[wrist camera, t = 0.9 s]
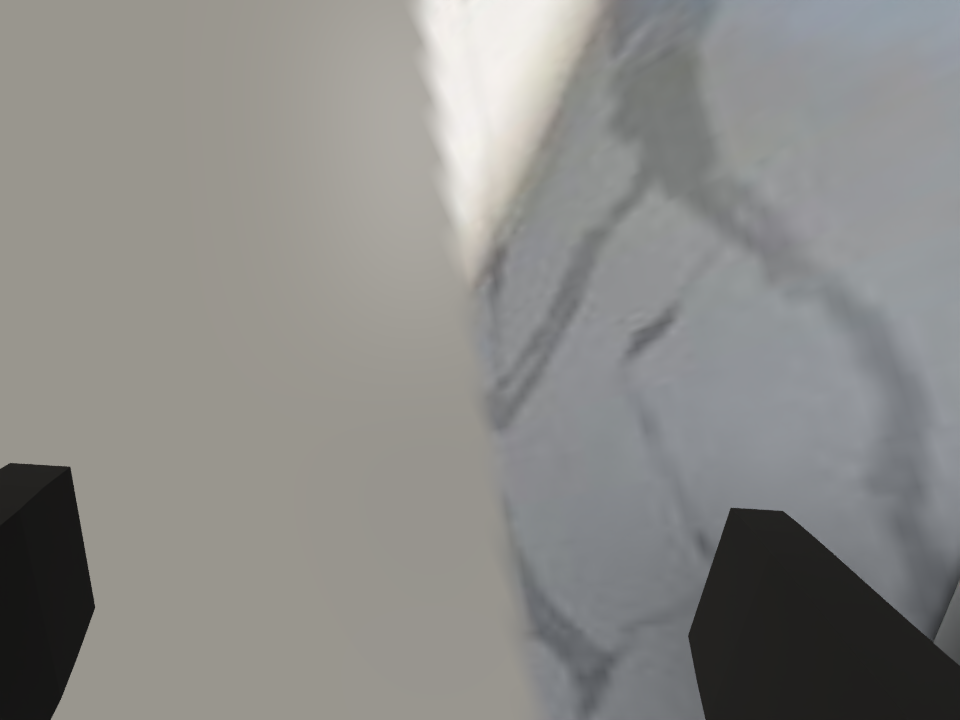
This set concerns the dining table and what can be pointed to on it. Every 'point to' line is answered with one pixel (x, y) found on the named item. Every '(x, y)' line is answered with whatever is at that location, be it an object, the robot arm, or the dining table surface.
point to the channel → (951, 629)
